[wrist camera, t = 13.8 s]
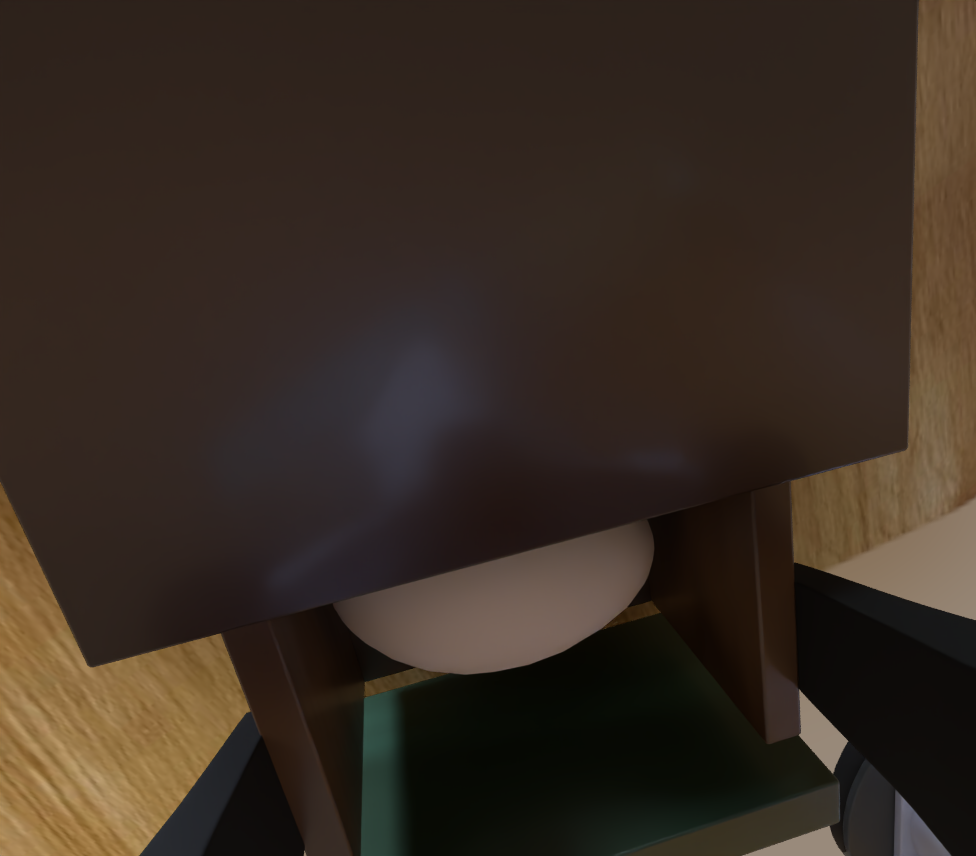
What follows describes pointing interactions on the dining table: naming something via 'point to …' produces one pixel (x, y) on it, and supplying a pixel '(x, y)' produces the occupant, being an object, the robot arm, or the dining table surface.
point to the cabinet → (431, 283)
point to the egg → (506, 604)
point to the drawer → (564, 720)
